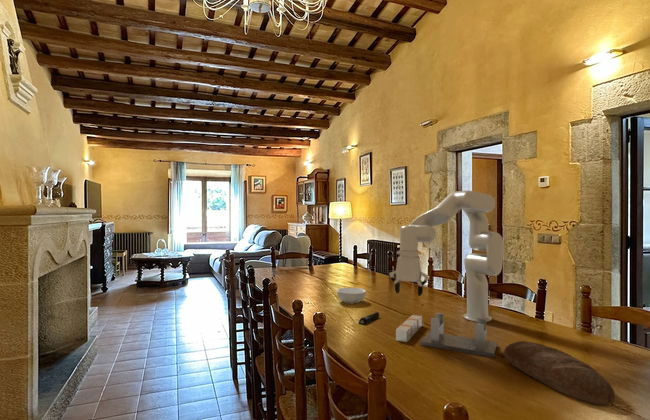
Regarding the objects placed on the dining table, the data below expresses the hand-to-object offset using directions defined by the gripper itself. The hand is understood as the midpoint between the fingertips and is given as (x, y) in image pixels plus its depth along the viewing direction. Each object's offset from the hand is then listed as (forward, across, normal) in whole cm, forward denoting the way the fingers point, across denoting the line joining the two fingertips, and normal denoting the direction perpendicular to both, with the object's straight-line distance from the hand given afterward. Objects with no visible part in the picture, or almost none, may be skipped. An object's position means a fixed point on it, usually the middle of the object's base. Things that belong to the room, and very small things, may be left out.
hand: (408, 294), depth 157 cm
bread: (+17, +52, -20) cm, 58 cm away
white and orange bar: (+17, 0, +1) cm, 17 cm away
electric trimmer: (+17, -22, +9) cm, 29 cm away
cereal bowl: (+17, -45, +38) cm, 61 cm away
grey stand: (+17, +21, -5) cm, 28 cm away
